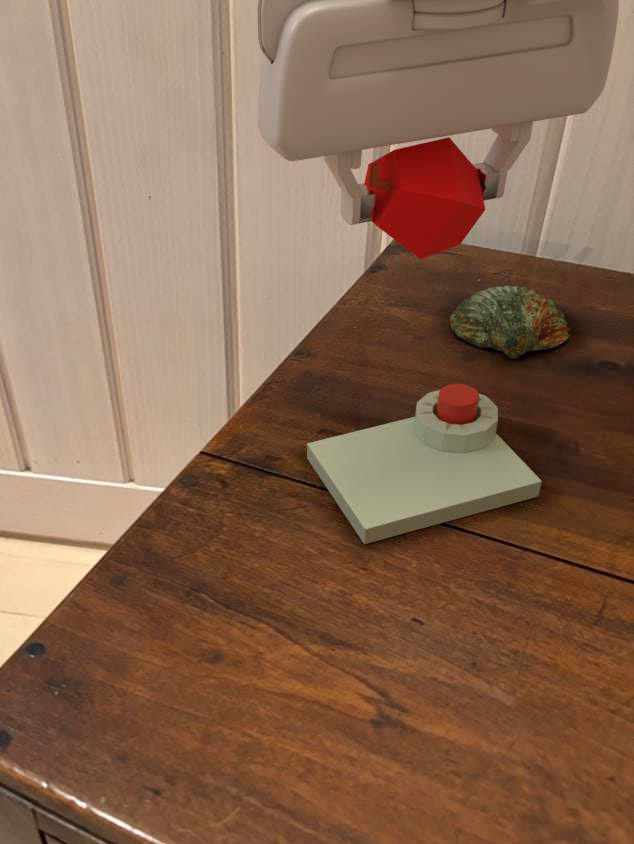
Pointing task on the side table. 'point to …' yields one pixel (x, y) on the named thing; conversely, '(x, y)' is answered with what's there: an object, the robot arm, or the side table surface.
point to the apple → (426, 196)
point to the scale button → (457, 404)
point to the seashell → (510, 321)
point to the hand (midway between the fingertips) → (422, 208)
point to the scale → (421, 471)
